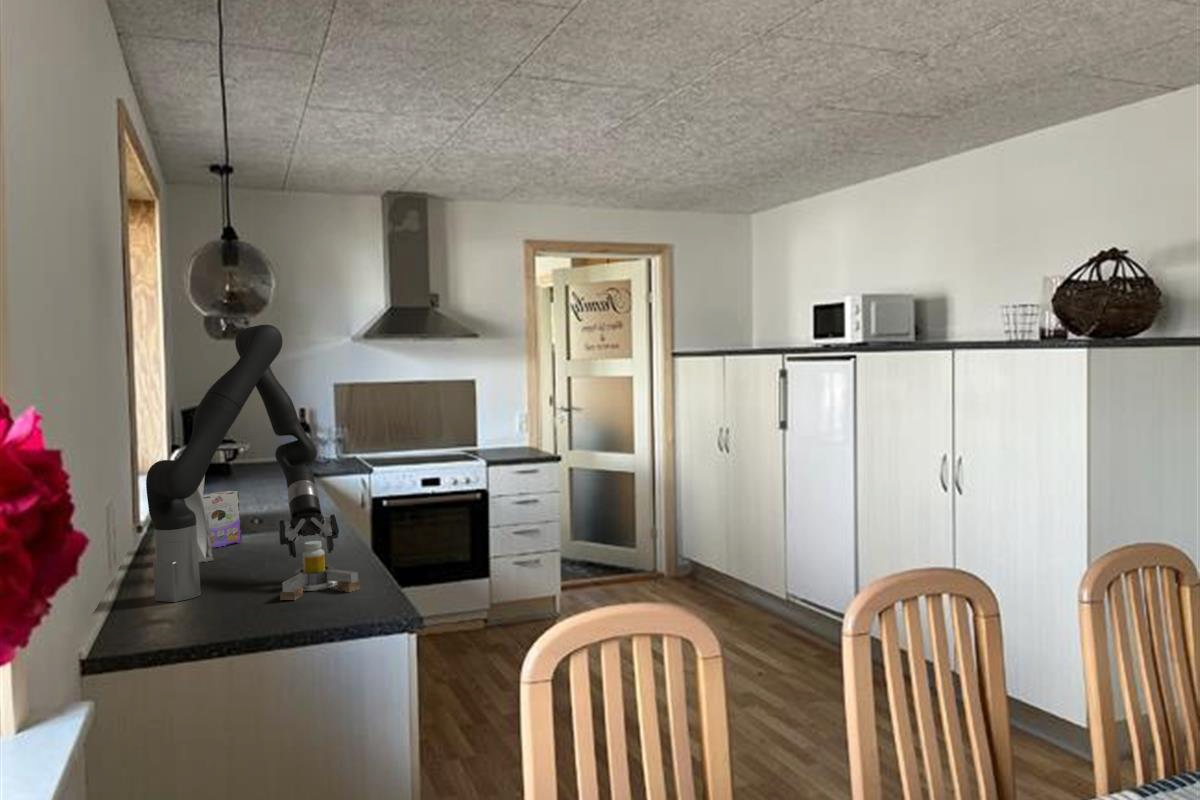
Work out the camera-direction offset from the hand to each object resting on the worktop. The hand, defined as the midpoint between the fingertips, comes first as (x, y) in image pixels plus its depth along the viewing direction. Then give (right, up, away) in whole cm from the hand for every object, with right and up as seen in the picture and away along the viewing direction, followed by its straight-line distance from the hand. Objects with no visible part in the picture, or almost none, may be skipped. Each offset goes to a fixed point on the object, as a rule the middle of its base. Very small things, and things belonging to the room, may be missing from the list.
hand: (312, 553), depth 220 cm
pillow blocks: (+5, -8, -10) cm, 14 cm away
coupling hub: (+1, -8, -1) cm, 8 cm away
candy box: (-46, -7, +51) cm, 69 cm away
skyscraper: (-43, -8, +31) cm, 53 cm away
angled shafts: (+5, -6, -10) cm, 13 cm away
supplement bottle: (+1, -7, -1) cm, 7 cm away
